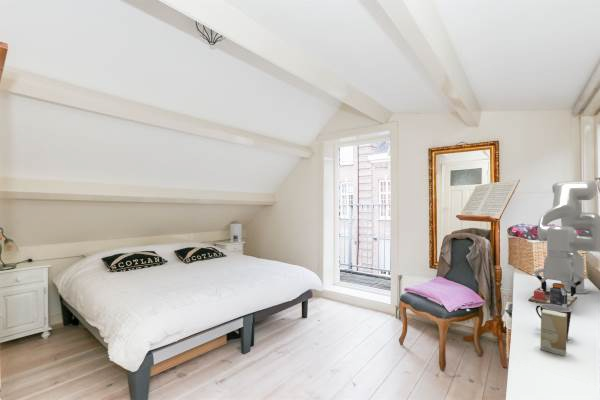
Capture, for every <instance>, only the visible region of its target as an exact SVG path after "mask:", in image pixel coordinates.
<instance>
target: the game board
mask: <svg viewBox="0 0 600 400" xmlns="http://www.w3.org/2000/svg"><path fill="white" fill-rule="evenodd" d="M540 288H541V286H540V287H538V288H537V289H535V290H540ZM541 291H543V290H541ZM577 299H578V295H574V296H571V294H568V293H567V308H569V309H570V307H571V306H572V305H573V303H574V302H575V301H576V300H577ZM528 302H531V303H536V304H540V305H541V304H550V291H545V299H544V300H540V299H534V295H532V296H531V297H529V298H528Z"/></svg>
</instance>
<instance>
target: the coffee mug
mask: <svg viewBox="0 0 600 400" xmlns="http://www.w3.org/2000/svg"><path fill="white" fill-rule="evenodd" d="M539 308H540V312H539V310H538V309H539ZM543 309H546V310H551V311H556V312H560V313H566V314H567V340H568V338H569V331H570V330H569V329H570V323H571V316H572V309H571V308H570V307H569V308H567V307H563V306H559V305H553V304H541V303H540V304H539V305H536V306H535V312H536V314H537V315H538V317H539V319H541V312H542V310H543Z"/></svg>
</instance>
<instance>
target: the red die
mask: <svg viewBox="0 0 600 400" xmlns="http://www.w3.org/2000/svg"><path fill="white" fill-rule="evenodd" d="M533 296H534V299H540V300H544V299H545V292H544V291H541V290H536V289H534V291H533Z"/></svg>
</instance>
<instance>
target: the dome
mask: <svg viewBox="0 0 600 400" xmlns="http://www.w3.org/2000/svg"><path fill="white" fill-rule="evenodd" d="M546 288H547V290H546V291H550V288H551V286H550V285H548V284H546ZM540 290H543V289H542V288H540Z"/></svg>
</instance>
